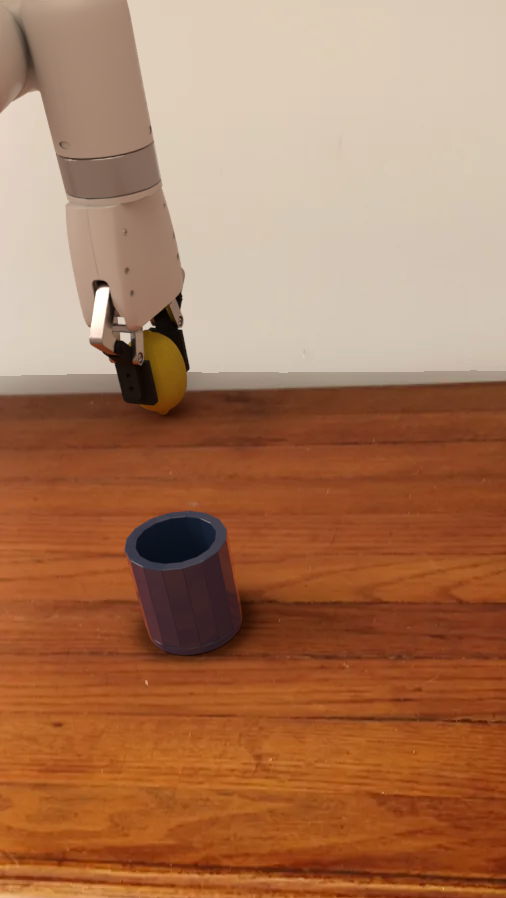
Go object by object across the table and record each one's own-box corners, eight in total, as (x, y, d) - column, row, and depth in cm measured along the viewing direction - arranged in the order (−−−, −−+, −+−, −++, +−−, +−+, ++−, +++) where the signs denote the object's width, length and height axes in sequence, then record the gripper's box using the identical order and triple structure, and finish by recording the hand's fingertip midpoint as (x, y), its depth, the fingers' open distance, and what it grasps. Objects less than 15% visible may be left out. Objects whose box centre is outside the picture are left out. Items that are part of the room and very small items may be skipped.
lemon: (183, 394, 91) (166, 312, 86) (202, 418, 87) (185, 333, 82) (126, 409, 89) (106, 327, 84) (143, 434, 85) (123, 349, 80)
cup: (131, 646, 63) (106, 561, 59) (174, 588, 68) (153, 505, 63) (219, 662, 62) (200, 576, 57) (257, 601, 66) (242, 517, 62)
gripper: (121, 141, 82) (163, 343, 93) (7, 205, 70) (72, 428, 81) (200, 142, 80) (233, 349, 91) (97, 208, 67) (151, 437, 79)
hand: (157, 384), depth 86 cm, fingers closed on lemon, 5 cm apart
